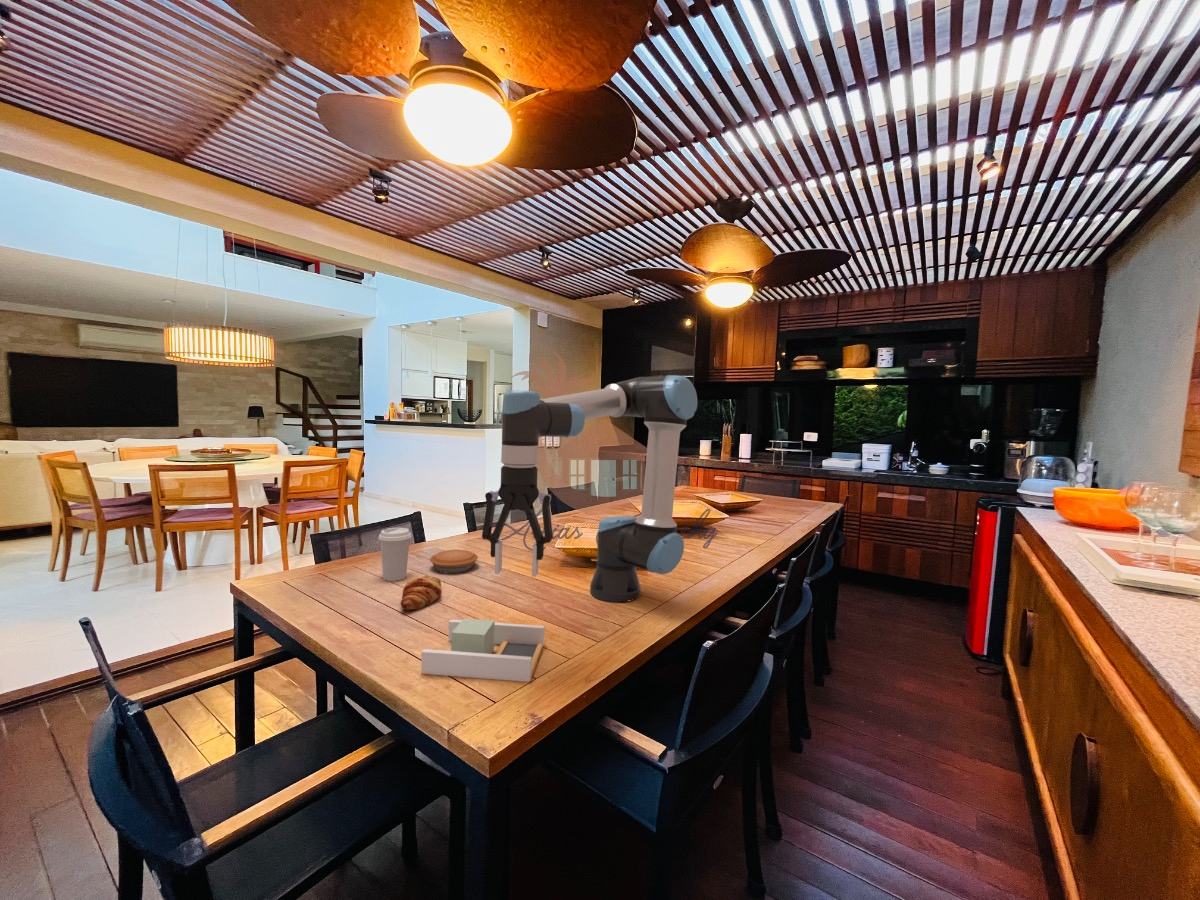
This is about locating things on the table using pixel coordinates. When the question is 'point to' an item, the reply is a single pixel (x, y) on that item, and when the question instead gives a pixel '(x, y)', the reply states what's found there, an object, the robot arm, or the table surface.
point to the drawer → (522, 651)
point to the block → (473, 636)
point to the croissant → (420, 592)
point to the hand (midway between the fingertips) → (516, 573)
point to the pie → (453, 560)
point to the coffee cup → (394, 552)
